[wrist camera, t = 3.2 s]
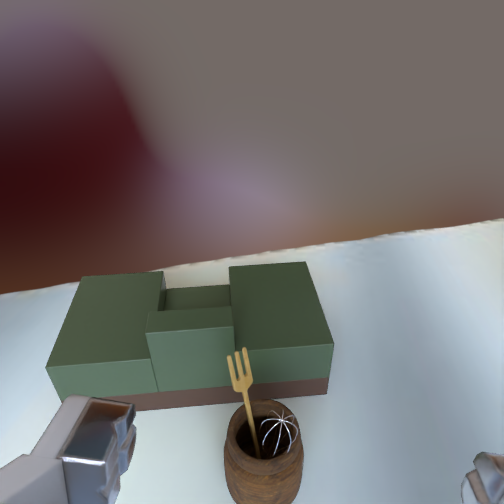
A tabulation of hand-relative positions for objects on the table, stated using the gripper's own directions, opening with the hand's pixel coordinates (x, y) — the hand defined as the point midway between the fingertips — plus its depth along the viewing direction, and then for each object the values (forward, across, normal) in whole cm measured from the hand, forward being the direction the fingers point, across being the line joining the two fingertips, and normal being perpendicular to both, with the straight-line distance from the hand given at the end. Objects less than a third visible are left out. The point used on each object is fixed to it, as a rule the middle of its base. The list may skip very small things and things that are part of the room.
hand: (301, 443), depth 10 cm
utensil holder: (+14, -1, +22) cm, 26 cm away
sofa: (+26, +6, +21) cm, 34 cm away
